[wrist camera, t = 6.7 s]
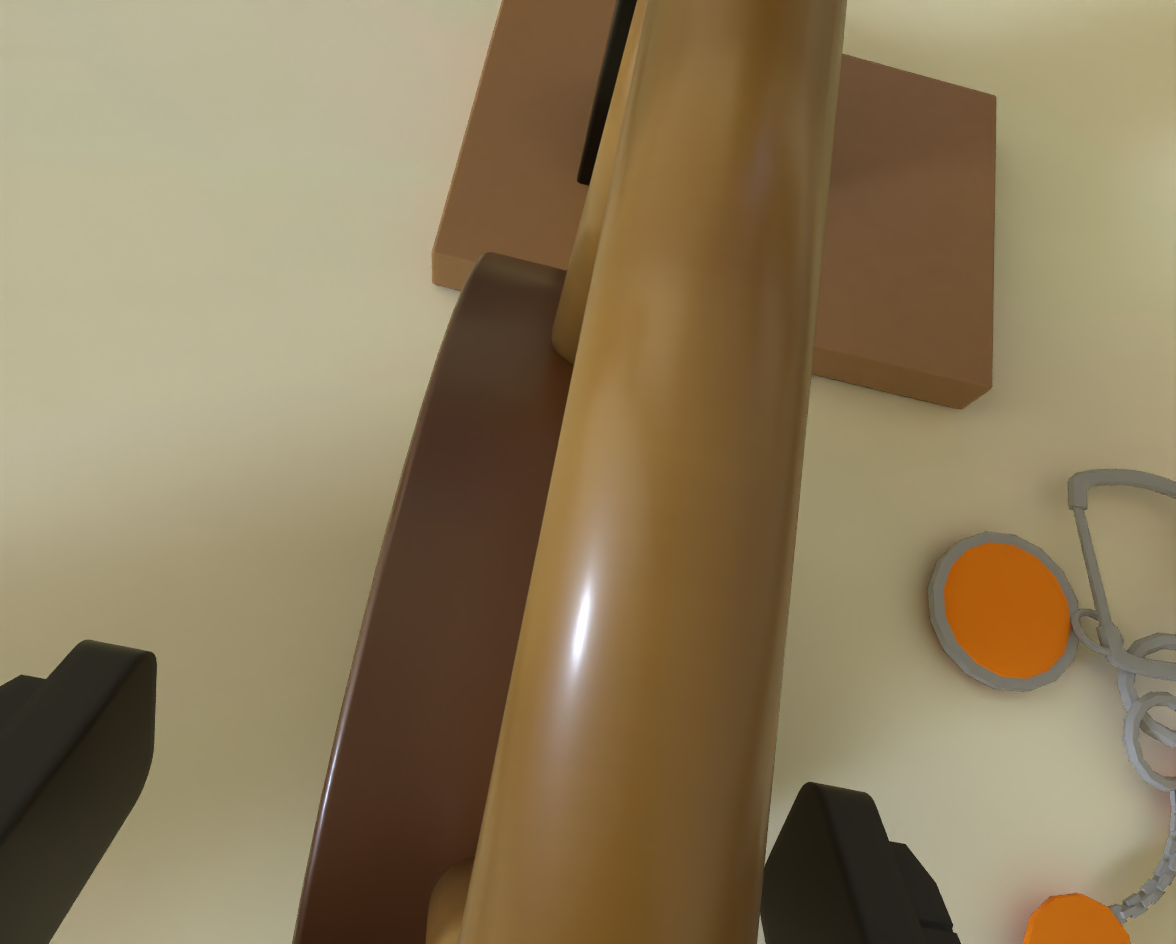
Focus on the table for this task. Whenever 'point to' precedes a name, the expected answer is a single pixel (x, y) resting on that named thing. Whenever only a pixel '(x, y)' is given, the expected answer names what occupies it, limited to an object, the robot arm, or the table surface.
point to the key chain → (1056, 669)
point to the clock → (602, 533)
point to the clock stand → (854, 212)
